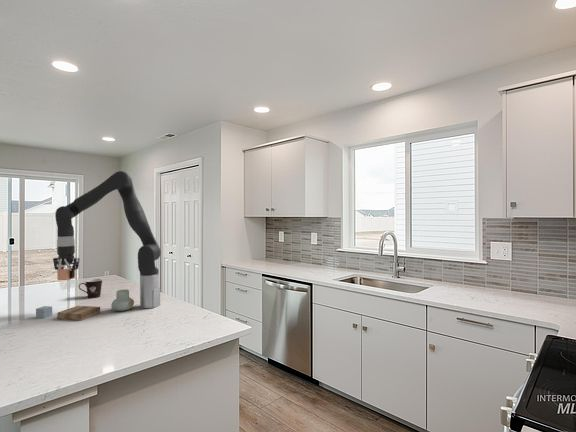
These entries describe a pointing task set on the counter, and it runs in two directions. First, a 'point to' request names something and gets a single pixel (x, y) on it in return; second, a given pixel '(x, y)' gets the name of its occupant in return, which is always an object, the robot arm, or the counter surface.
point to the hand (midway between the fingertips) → (66, 277)
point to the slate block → (44, 312)
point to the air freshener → (122, 301)
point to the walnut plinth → (78, 313)
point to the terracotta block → (64, 274)
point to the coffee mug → (93, 288)
